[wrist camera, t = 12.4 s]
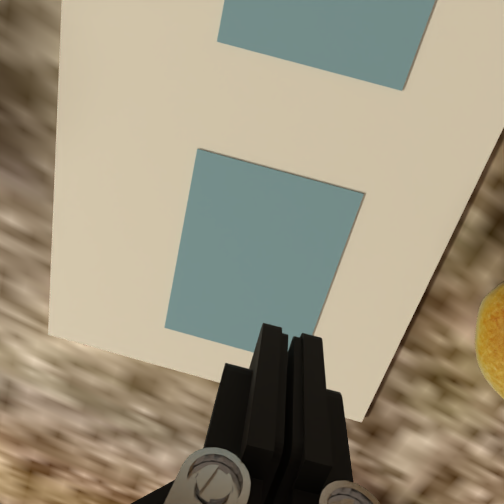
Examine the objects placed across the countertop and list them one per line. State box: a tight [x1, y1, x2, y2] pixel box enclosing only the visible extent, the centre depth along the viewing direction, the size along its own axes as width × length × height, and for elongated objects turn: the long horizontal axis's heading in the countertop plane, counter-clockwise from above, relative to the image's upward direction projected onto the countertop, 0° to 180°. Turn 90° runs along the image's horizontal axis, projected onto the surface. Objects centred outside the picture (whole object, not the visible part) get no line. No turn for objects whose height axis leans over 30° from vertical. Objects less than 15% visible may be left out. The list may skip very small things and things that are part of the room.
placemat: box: [48, 0, 504, 422], centre depth 16 cm, size 27×17×1 cm, turn 166°
